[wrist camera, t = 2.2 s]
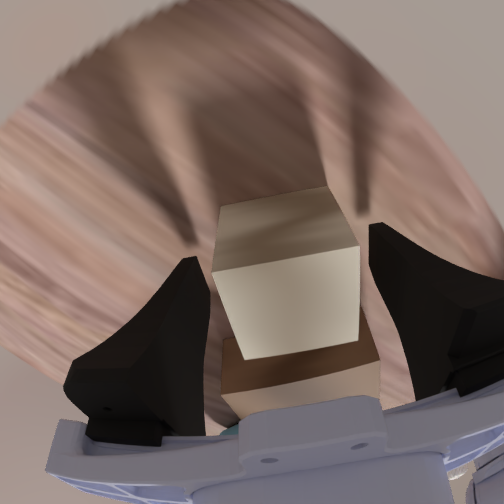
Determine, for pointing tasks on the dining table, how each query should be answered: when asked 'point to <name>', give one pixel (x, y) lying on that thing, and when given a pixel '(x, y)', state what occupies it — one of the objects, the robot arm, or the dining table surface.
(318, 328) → the birch cube
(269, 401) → the walnut base block
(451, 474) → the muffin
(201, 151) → the dining table surface
